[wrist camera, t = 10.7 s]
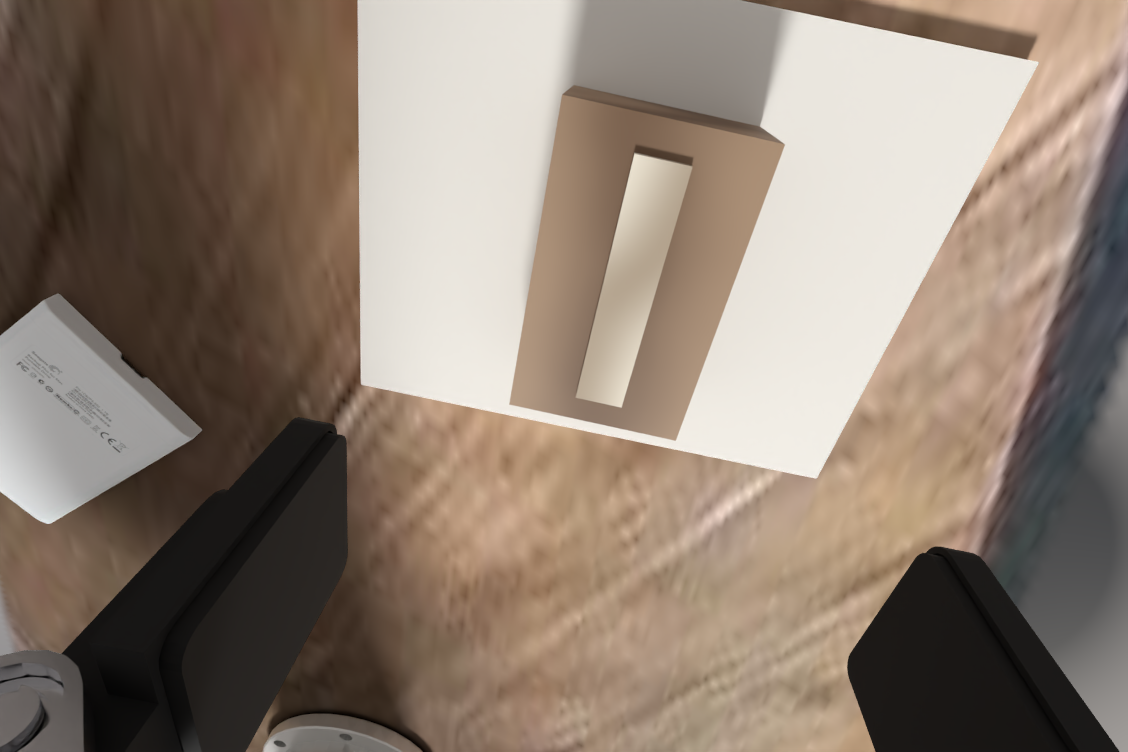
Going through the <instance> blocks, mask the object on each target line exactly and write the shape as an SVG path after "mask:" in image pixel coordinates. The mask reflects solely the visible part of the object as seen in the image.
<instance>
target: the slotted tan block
mask: <svg viewBox="0 0 1128 752" xmlns="http://www.w3.org/2000/svg"><path fill="white" fill-rule="evenodd" d="M784 146H785V144H784V143H783V142H781V141H780V140H778V139H777V138H776V137H774V136H773V135H771V134H770V133H768V132H767V131H766V130H764V129H763V128H761V127H760V126H755V125H751V124H746V123H742V122H737V121H733V120H728V119H724V118H719V117H715V116H710V115H706V114H701V113H697V112H693V111H688V110H684V109H679V108H675V107H670V106H666V105H661V104H657V103H652V102H648V101H643V100H639V99H634V98H630V97H625V96H621V95H616V94H612V93H607V92H603V91H598V90H594V89H589V88H585V87H580V86H576V85H573V86H572V87H571V88H570V89H568V90H567V91H566V92H565V93H563V94H562V98H561V104H560V110H559V115H558V121H557V127H556V133H555V139H554V145H553V151H552V156H551V162H550V168H549V174H548V180H547V186H546V192H545V197H544V203H543V209H542V215H541V221H540V227H539V233H538V238H537V244H536V250H535V256H534V262H533V268H532V274H531V279H530V285H529V291H528V297H527V303H526V309H525V315H524V320H523V326H522V332H521V338H520V344H519V350H518V356H517V361H516V367H515V373H514V379H513V385H512V391H511V397H510V402H509V405H514V406H518V407H523V408H528V409H532V410H537V411H541V412H546V413H551V414H555V415H560V416H564V417H569V418H573V419H578V420H583V421H587V422H592V423H596V424H601V425H606V426H610V427H615V428H619V429H624V430H628V431H633V432H638V433H642V434H647V435H651V436H656V437H661V438H665V439H670V440H674V441H676V439H677V436H678V434H679V431H680V428H681V425H682V423H683V420H684V417H685V415H686V412H687V409H688V406H689V404H690V401H691V398H692V396H693V393H694V390H695V387H696V385H697V382H698V379H699V377H700V374H701V371H702V369H703V366H704V363H705V360H706V358H707V355H708V352H709V350H710V347H711V344H712V341H713V339H714V336H715V333H716V331H717V328H718V325H719V322H720V320H721V317H722V314H723V312H724V309H725V306H726V303H727V301H728V298H729V295H730V293H731V290H732V287H733V284H734V282H735V279H736V276H737V274H738V271H739V268H740V266H741V263H742V260H743V257H744V255H745V252H746V249H747V247H748V244H749V241H750V238H751V236H752V233H753V230H754V228H755V225H756V222H757V219H758V217H759V214H760V211H761V209H762V206H763V203H764V200H765V198H766V195H767V192H768V190H769V187H770V184H771V181H772V179H773V176H774V173H775V171H776V168H777V165H778V163H779V160H780V157H781V154H782V152H783V149H784Z"/></svg>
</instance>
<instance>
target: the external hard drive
mask: <svg viewBox="0 0 1128 752" xmlns="http://www.w3.org/2000/svg"><path fill="white" fill-rule="evenodd" d="M201 431H202V429H201V428H200V427H199V426H198V425H197V424H196V423H195V422H194V421H193V420H192V419H190V418H189V417H188V416H187V415H186V414H185V413H184V412H183V411H182V410H181V409H180V408H179V407H178V406H177V405H176V404H175V403H174V402H173V401H172V400H170V399H169V398H168V397H167V396H166V395H165V394H164V393H163V392H162V391H161V390H160V389H159V388H158V387H157V386H156V385H155V384H154V383H153V382H151V381H150V380H149V379H148V378H146V377H142V376H141V375H140V374H139V373H138V372H136V371H135V369H134V368H133V367H131V366H130V365H129V364H127V363H126V362H125V361H124V359H123V357H122V353H121V352H120V351H119V350H118V349H117V348H116V347H115V346H114V345H113V344H112V343H110V342H109V341H108V340H107V339H106V338H105V337H104V336H103V335H102V334H101V333H100V332H99V331H98V330H97V329H96V328H95V327H94V326H93V325H92V324H91V323H89V322H88V321H87V320H86V319H85V318H84V317H83V316H82V315H81V314H80V313H79V312H78V311H77V310H76V309H75V308H74V307H73V306H72V305H71V304H70V303H68V302H67V301H66V300H65V299H64V298H63V297H62V296H61V295H60V294H59V293H58V294H55V295H53V296H51V297H49V298H47V299H45V300H43V301H42V302H40V303H39V304H38V305H37V306H36V307H35V308H33V309H32V310H31V311H30V312H29V313H28V314H26V315H25V316H24V317H22V318H21V319H20V320H19V321H17V322H16V323H15V324H14V325H13V326H12V327H10V328H9V329H8V330H7V331H5V332H4V333H3V334H2V335H0V492H2V493H3V494H4V495H6V496H7V497H8V498H9V499H11V500H12V501H13V502H15V503H16V504H17V505H19V506H20V507H21V508H22V509H24V510H25V511H26V512H28V513H29V514H31V515H32V516H33V517H34V518H36V519H37V520H39V521H41V522H44V523H46V524H50V523H52V522H54V521H56V520H57V519H59V518H61V517H63V516H64V515H66V514H68V513H69V512H71V511H73V510H74V509H76V508H78V507H79V506H81V505H83V504H84V503H86V502H88V501H90V500H91V499H93V498H95V497H96V496H98V495H100V494H101V493H103V492H105V491H106V490H108V489H110V488H111V487H113V486H115V485H116V484H118V483H120V482H121V481H123V480H125V479H127V478H128V477H130V476H132V475H133V474H135V473H137V472H138V471H140V470H142V469H143V468H145V467H147V466H148V465H150V464H152V463H153V462H155V461H157V460H159V459H160V458H162V457H163V456H165V455H167V454H169V453H170V452H172V451H173V450H175V449H177V448H178V447H180V446H182V445H184V444H185V443H187V442H189V441H190V440H192V439H194V438H195V437H196V436H197V435H198V434H199V433H200V432H201Z"/></svg>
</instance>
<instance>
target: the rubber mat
mask: <svg viewBox="0 0 1128 752" xmlns="http://www.w3.org/2000/svg"><path fill="white" fill-rule="evenodd" d="M1038 64H1039V62H1036V61H1031V60H1026V59H1021V58H1016V57H1012V56H1007V55H1002V54H997V53H992V52H988V51H983V50H978V49H973V48H968V47H963V46H959V45H954V44H949V43H944V42H939V41H935V40H930V39H925V38H920V37H915V36H911V35H906V34H901V33H896V32H891V31H887V30H882V29H877V28H872V27H867V26H863V25H858V24H853V23H848V22H843V21H838V20H834V19H829V18H824V17H819V16H814V15H810V14H805V13H800V12H795V11H790V10H786V9H781V8H776V7H771V6H766V5H762V4H757V3H752V2H747V1H742V0H358V102H359V221H360V340H361V385H365V386H370V387H375V388H380V389H385V390H390V391H394V392H399V393H404V394H409V395H414V396H419V397H424V398H428V399H433V400H438V401H443V402H448V403H453V404H457V405H462V406H467V407H472V408H477V409H482V410H486V411H491V412H496V413H501V414H506V415H511V416H515V417H520V418H525V419H530V420H535V421H540V422H545V423H549V424H554V425H559V426H564V427H569V428H574V429H578V430H583V431H588V432H593V433H598V434H603V435H607V436H612V437H617V438H622V439H627V440H632V441H637V442H641V443H646V444H651V445H656V446H661V447H666V448H670V449H675V450H680V451H685V452H690V453H695V454H699V455H704V456H709V457H714V458H719V459H724V460H728V461H733V462H738V463H743V464H748V465H753V466H758V467H762V468H767V469H772V470H777V471H782V472H787V473H791V474H796V475H801V476H806V477H811V478H816V479H817V477H818V475H819V473H820V471H821V469H822V467H823V465H824V464H825V462H826V460H827V458H828V456H829V454H830V452H831V451H832V449H833V447H834V445H835V443H836V441H837V439H838V437H839V436H840V434H841V432H842V430H843V428H844V426H845V424H846V422H847V421H848V419H849V417H850V415H851V413H852V411H853V409H854V408H855V406H856V404H857V402H858V400H859V398H860V396H861V394H862V393H863V391H864V389H865V387H866V385H867V383H868V381H869V379H870V378H871V376H872V374H873V372H874V370H875V368H876V366H877V365H878V363H879V361H880V359H881V357H882V355H883V353H884V351H885V350H886V348H887V346H888V344H889V342H890V340H891V338H892V336H893V335H894V333H895V331H896V329H897V327H898V325H899V323H900V322H901V320H902V318H903V316H904V314H905V312H906V310H907V308H908V307H909V305H910V303H911V301H912V299H913V297H914V295H915V293H916V292H917V290H918V288H919V286H920V284H921V282H922V280H923V279H924V277H925V275H926V273H927V271H928V269H929V267H930V265H931V264H932V262H933V260H934V258H935V256H936V254H937V252H938V250H939V249H940V247H941V245H942V243H943V241H944V239H945V237H946V236H947V234H948V232H949V230H950V228H951V226H952V224H953V222H954V221H955V219H956V217H957V215H958V213H959V211H960V209H961V207H962V206H963V204H964V202H965V200H966V198H967V196H968V194H969V193H970V191H971V189H972V187H973V185H974V183H975V181H976V179H977V178H978V176H979V174H980V172H981V170H982V168H983V166H984V164H985V163H986V161H987V159H988V157H989V155H990V153H991V151H992V150H993V148H994V146H995V144H996V142H997V140H998V138H999V136H1000V135H1001V133H1002V131H1003V129H1004V127H1005V125H1006V123H1007V121H1008V120H1009V118H1010V116H1011V114H1012V112H1013V110H1014V108H1015V107H1016V105H1017V103H1018V101H1019V99H1020V97H1021V95H1022V93H1023V92H1024V90H1025V88H1026V86H1027V84H1028V82H1029V80H1030V78H1031V77H1032V75H1033V73H1034V71H1035V69H1036V67H1037V65H1038ZM573 85H576V86H580V87H585V88H589V89H594V90H598V91H603V92H607V93H612V94H616V95H621V96H625V97H630V98H634V99H639V100H643V101H648V102H652V103H657V104H661V105H666V106H670V107H675V108H679V109H684V110H688V111H693V112H697V113H701V114H706V115H710V116H715V117H719V118H724V119H728V120H733V121H737V122H742V123H746V124H751V125H755V126H760V127H761V128H763V129H764V130H766V131H767V132H768V133H770V134H771V135H773V136H774V137H776V138H777V139H778V140H780V141H781V142H783V143H784V144H785V146H784V149H783V152H782V154H781V157H780V160H779V163H778V165H777V168H776V171H775V173H774V176H773V179H772V181H771V184H770V187H769V190H768V192H767V195H766V198H765V200H764V203H763V206H762V209H761V211H760V214H759V217H758V219H757V222H756V225H755V228H754V230H753V233H752V236H751V238H750V241H749V244H748V247H747V249H746V252H745V255H744V257H743V260H742V263H741V266H740V268H739V271H738V274H737V276H736V279H735V282H734V284H733V287H732V290H731V293H730V295H729V298H728V301H727V303H726V306H725V309H724V312H723V314H722V317H721V320H720V322H719V325H718V328H717V331H716V333H715V336H714V339H713V341H712V344H711V347H710V350H709V352H708V355H707V358H706V360H705V363H704V366H703V369H702V371H701V374H700V377H699V379H698V382H697V385H696V387H695V390H694V393H693V396H692V398H691V401H690V404H689V406H688V409H687V412H686V415H685V417H684V420H683V423H682V425H681V428H680V431H679V434H678V436H677V439H676V441H674V440H670V439H665V438H661V437H656V436H651V435H647V434H642V433H638V432H633V431H628V430H624V429H619V428H615V427H610V426H606V425H601V424H596V423H592V422H587V421H583V420H578V419H573V418H569V417H564V416H560V415H555V414H551V413H546V412H541V411H537V410H532V409H528V408H523V407H518V406H514V405H509V402H510V397H511V391H512V385H513V379H514V373H515V367H516V361H517V356H518V350H519V344H520V338H521V332H522V326H523V320H524V315H525V309H526V303H527V297H528V291H529V285H530V279H531V274H532V268H533V262H534V256H535V250H536V244H537V238H538V233H539V227H540V221H541V215H542V209H543V203H544V197H545V192H546V186H547V180H548V174H549V168H550V162H551V156H552V151H553V145H554V139H555V133H556V127H557V121H558V115H559V110H560V104H561V98H562V94H563V93H565V92H566V91H567V90H568V89H570V88H571V87H572V86H573Z"/></svg>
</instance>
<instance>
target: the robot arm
mask: <svg viewBox="0 0 1128 752" xmlns="http://www.w3.org/2000/svg"><path fill="white" fill-rule="evenodd" d="M347 553H348V543H347V450H346V438H345V436H342V435H337V430H336V427H335V425H333V424H330V423H325V422H320V421H315V420H310V419H305V418H300V417H298V418H295V419H293V420H292V421H291V422H290V423H289V424H288V425H287V426H286V427H285V429H284V430H283V431H282V432H281V433H280V434H279V435H278V436H277V437H276V438H275V439H274V441H273V442H272V443H271V444H270V445H269V446H268V447H267V448H266V449H265V450H264V452H263V453H262V454H261V455H260V456H259V457H258V458H257V459H256V460H255V461H254V462H253V464H252V465H251V466H250V467H249V468H248V469H247V470H246V471H245V472H244V473H243V475H242V476H241V477H240V478H239V479H238V480H237V481H236V482H235V483H234V484H233V485H232V487H231V488H230V489H229V490H220V491H218V492H215V493H214V494H213V495H212V496H210V497H209V498H208V499H207V500H206V501H205V502H204V503H203V504H202V505H201V506H200V507H199V508H198V509H197V510H196V511H195V513H194V514H193V515H192V516H191V517H190V518H189V519H188V520H187V521H186V522H185V523H184V524H183V525H182V526H181V527H180V528H179V530H178V531H177V532H176V533H175V534H174V535H173V536H172V537H171V538H170V539H169V540H168V541H167V542H166V543H165V544H164V545H163V547H162V548H161V549H160V550H159V551H158V552H157V553H156V554H155V555H154V556H153V557H152V558H151V559H150V560H149V561H148V562H147V563H146V565H145V566H144V567H143V568H142V569H141V570H140V571H139V572H138V573H137V574H136V575H135V576H134V577H133V578H132V579H131V580H130V582H129V583H128V584H127V585H126V586H125V587H124V588H123V589H122V590H121V591H120V592H119V593H118V594H117V595H116V596H115V597H114V599H113V600H112V601H111V602H110V603H109V604H108V605H107V606H106V607H105V608H104V609H103V610H102V611H101V612H100V613H99V614H98V616H97V617H96V618H95V619H94V620H93V621H92V622H91V623H90V624H89V625H88V626H87V627H86V628H85V629H84V630H83V631H82V632H81V634H80V635H79V636H78V637H77V638H76V639H75V640H74V641H73V642H72V643H71V644H70V645H69V646H68V647H67V648H66V649H65V651H64V652H63V653H62V654H59V653H56V652H52V651H49V650H24V651H19V652H15V653H11V654H6V655H2V656H0V752H246V750H247V748H248V746H249V744H250V743H251V741H252V739H253V737H254V735H255V733H256V731H257V730H258V728H259V726H260V724H261V722H262V720H263V719H264V717H265V715H266V713H267V711H268V709H269V708H270V706H271V704H272V702H273V700H274V698H275V697H276V695H277V693H278V691H279V689H280V687H281V686H282V684H283V682H284V680H285V678H286V676H287V675H288V673H289V671H290V669H291V667H292V665H293V664H294V662H295V660H296V658H297V656H298V654H299V653H300V651H301V649H302V647H303V645H304V643H305V642H306V640H307V638H308V636H309V634H310V632H311V631H312V629H313V627H314V625H315V623H316V621H317V620H318V618H319V616H320V614H321V612H322V610H323V609H324V607H325V605H326V603H327V601H328V599H329V598H330V596H331V594H332V592H333V590H334V588H335V586H336V585H337V583H338V581H339V579H340V577H341V575H342V573H343V570H344V568H345V564H346V561H347ZM847 668H848V675H849V679H850V682H851V685H852V688H853V690H854V693H855V696H856V699H857V701H858V704H859V707H860V710H861V712H862V715H863V718H864V721H865V724H866V726H867V729H868V732H869V735H870V737H871V740H872V743H873V746H874V748H875V751H876V752H1119V750H1118V749H1117V748H1116V746H1115V745H1114V743H1113V742H1112V740H1111V739H1110V738H1109V736H1108V735H1107V733H1106V732H1105V731H1104V729H1103V728H1102V726H1101V725H1100V723H1099V722H1098V721H1097V719H1096V718H1095V716H1094V715H1093V714H1092V712H1091V711H1090V709H1089V708H1088V707H1087V705H1086V704H1085V703H1084V701H1083V700H1082V698H1081V697H1080V696H1079V694H1078V693H1077V691H1076V690H1075V688H1074V687H1073V686H1072V684H1071V683H1070V682H1069V680H1068V679H1067V677H1066V676H1065V674H1064V673H1063V672H1062V670H1061V669H1060V667H1059V666H1058V665H1057V663H1056V662H1055V660H1054V659H1053V658H1052V656H1051V655H1050V653H1049V652H1048V651H1047V649H1046V648H1045V646H1044V645H1043V643H1042V642H1041V641H1040V639H1039V638H1038V636H1037V635H1036V634H1035V632H1034V631H1033V630H1032V628H1031V627H1030V625H1029V624H1028V622H1027V621H1026V620H1025V618H1024V617H1023V615H1022V614H1021V613H1020V611H1019V610H1018V608H1017V607H1016V606H1015V604H1014V603H1013V601H1012V600H1011V599H1010V597H1009V596H1008V594H1007V593H1006V591H1005V590H1004V589H1003V587H1002V586H1001V584H1000V583H999V582H998V580H997V579H996V577H995V576H994V575H993V573H992V572H991V570H990V569H989V568H988V566H987V565H986V563H985V562H984V561H983V560H982V559H981V558H980V557H979V556H977V555H975V554H973V553H969V552H964V551H959V550H954V549H949V548H944V547H933V548H931V549H929V550H928V551H927V552H926V553H922V554H919V555H918V556H917V557H916V558H915V560H914V561H913V563H912V564H911V565H910V567H909V568H908V570H907V571H906V573H905V574H904V576H903V577H902V579H901V580H900V582H899V583H898V585H897V586H896V587H895V589H894V590H893V592H892V593H891V595H890V596H889V598H888V599H887V601H886V602H885V604H884V605H883V606H882V608H881V609H880V611H879V612H878V614H877V615H876V617H875V618H874V620H873V621H872V623H871V624H870V625H869V627H868V628H867V630H866V631H865V633H864V634H863V636H862V637H861V639H860V640H859V642H858V643H857V644H856V646H855V647H854V649H853V650H852V652H851V653H850V656H849V659H848V666H847ZM263 752H423V751H422V750H421V749H420V748H419V747H417V746H416V745H415V744H414V743H412V742H411V741H410V740H408V739H407V738H405V737H403V736H401V735H400V734H398V733H396V732H394V731H392V730H390V729H388V728H386V727H383V726H381V725H378V724H375V723H372V722H369V721H366V720H363V719H359V718H354V717H350V716H344V715H337V714H307V715H300V716H296V717H293V718H289V719H287V720H285V721H283V722H281V723H280V724H278V725H277V726H276V727H275V728H274V729H273V730H272V731H271V733H270V735H269V737H268V739H267V741H266V743H265V745H264V748H263Z"/></svg>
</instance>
